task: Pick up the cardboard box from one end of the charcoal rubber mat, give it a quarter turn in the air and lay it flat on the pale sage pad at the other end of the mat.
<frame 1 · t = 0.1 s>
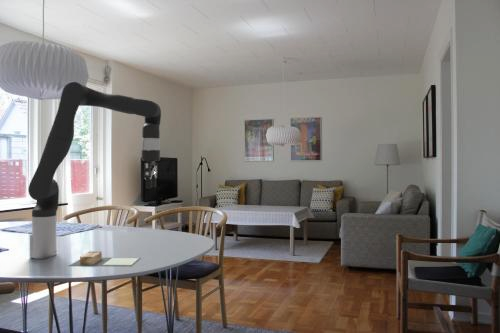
hand: (150, 187, 175), 29 cm above the table, tool pointing down, fingers open, 8 cm apart
mat: (106, 263, 164), on the table
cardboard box: (91, 261, 164), resting on mat
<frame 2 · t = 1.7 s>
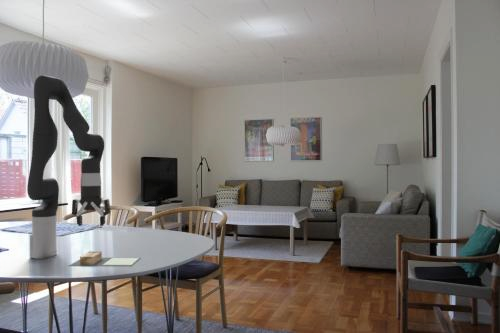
hand: (91, 225, 164), 15 cm above the table, tool pointing down, fingers open, 8 cm apart
nothing on the table moved.
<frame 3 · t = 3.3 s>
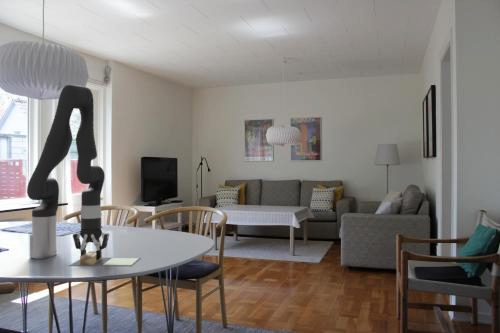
hand: (91, 259, 164), 1 cm above the table, tool pointing down, fingers closed on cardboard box, 5 cm apart
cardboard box: (91, 261, 164), resting on mat, touching gripper
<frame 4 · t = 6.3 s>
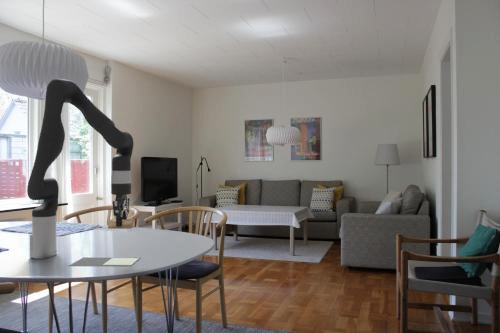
hand: (121, 225, 164), 15 cm above the table, tool pointing down, fingers closed on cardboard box, 5 cm apart
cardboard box: (121, 227, 164), point 14 cm above the table, touching gripper
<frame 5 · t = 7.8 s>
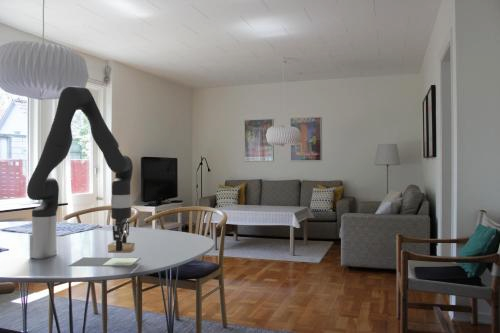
hand: (121, 249, 164), 6 cm above the table, tool pointing down, fingers closed on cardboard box, 5 cm apart
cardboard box: (121, 251, 164), point 5 cm above the table, touching gripper
when the fingers open (3 cm above the table, at t = 9.2 s): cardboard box drops 1 cm, resting on mat.
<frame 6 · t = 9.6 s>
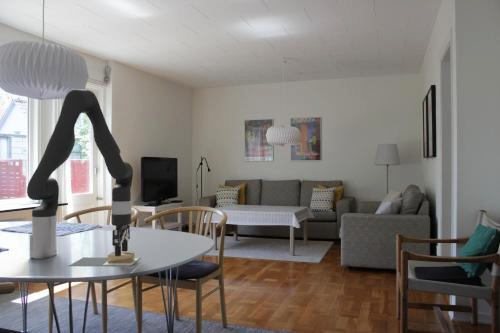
hand: (121, 253, 164), 4 cm above the table, tool pointing down, fingers open, 8 cm apart
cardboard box: (121, 261, 164), point 1 cm above the table, touching mat
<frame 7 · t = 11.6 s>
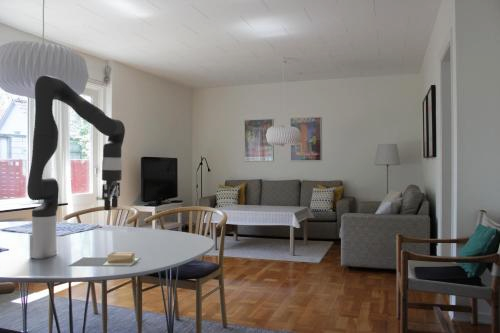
hand: (111, 208, 168), 21 cm above the table, tool pointing down, fingers open, 8 cm apart
nothing on the table moved.
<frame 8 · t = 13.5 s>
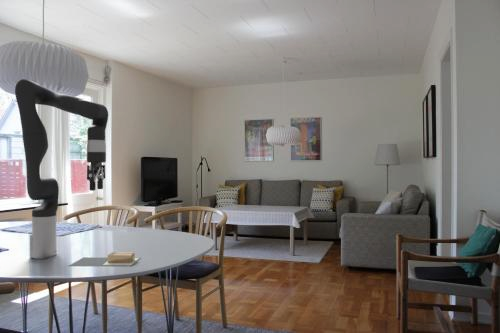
hand: (96, 189, 175), 28 cm above the table, tool pointing down, fingers open, 8 cm apart
nothing on the table moved.
at the end: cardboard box 0.0 cm from the target spot on the mat, point 0.7 cm above the mat's base; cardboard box tilted 0°; the gripper is holding nothing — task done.
